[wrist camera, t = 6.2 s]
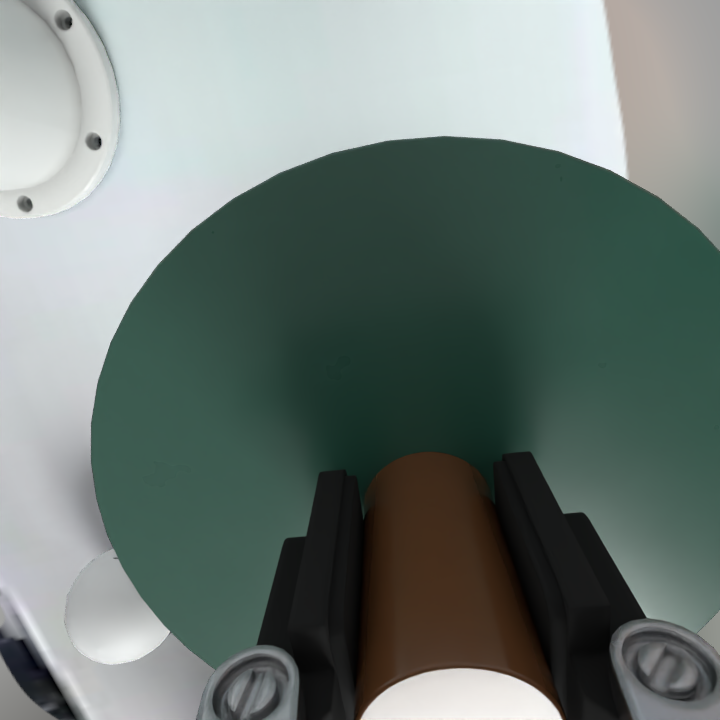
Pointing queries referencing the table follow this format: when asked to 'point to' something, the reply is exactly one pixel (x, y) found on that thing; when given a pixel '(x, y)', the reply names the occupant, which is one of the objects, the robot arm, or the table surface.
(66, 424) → the table surface
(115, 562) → the white rounded upright piece
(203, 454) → the lid
